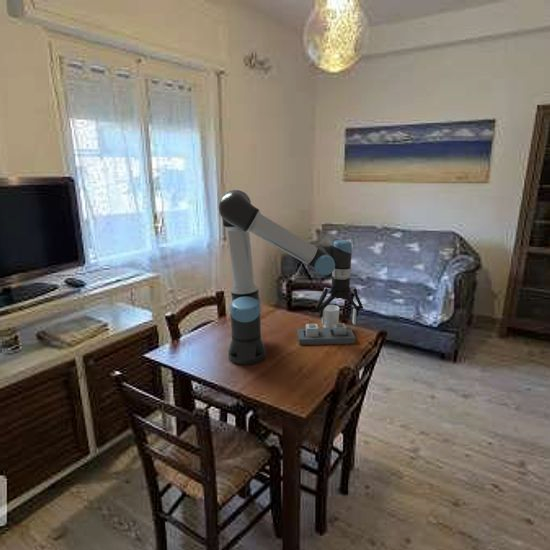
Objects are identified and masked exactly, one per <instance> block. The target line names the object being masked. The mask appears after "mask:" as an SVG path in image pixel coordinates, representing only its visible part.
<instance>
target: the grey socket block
mask: <svg viewBox="0 0 550 550" xmlns="http://www.w3.org/2000/svg"><path fill="white" fill-rule="evenodd" d="M346 328H347V332H346V336H333V328H323V327H319V325H318V323H306V324H305V328H296V332H297V333H296V335H297V339H298V345H300V346H301V345H302V346H304V345H334V344H335V345H337V344H341V345H342V344H356V337H355V334H354V332H353V331H352V328H351V327H350V326H349V327H348V326H346Z"/></svg>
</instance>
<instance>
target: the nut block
mask: <svg viewBox="0 0 550 550" xmlns="http://www.w3.org/2000/svg"><path fill="white" fill-rule="evenodd" d="M346 327H347V326H346V324H345V322H343V323H341V322H338V324H333V335H332V336H346V332H347V328H346Z"/></svg>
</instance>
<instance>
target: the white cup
mask: <svg viewBox="0 0 550 550" xmlns="http://www.w3.org/2000/svg"><path fill="white" fill-rule="evenodd" d="M324 310H325V319H324V325H322V328H333V324H338V323H339V319H340V307H339V306H338V305H334V304H328V305H327V306H326V307H325V308H324Z"/></svg>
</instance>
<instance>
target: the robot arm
mask: <svg viewBox="0 0 550 550" xmlns="http://www.w3.org/2000/svg"><path fill="white" fill-rule="evenodd" d="M218 211H219V214H220V215H219V216H221V218H222V226H223V228H224V229H225V230H226V231H227V236H228V247H229V255H230V263H231V271H232V272H231V273H232V280H233V281H232V282H233V287H232V288H231V289H230V295H231V303H230V308H229V312H230V324H231V325H230V327H231V329H230V331H231V341H230V344H229V347H228V351H227V352H228V354H227V356H228V360H230V361H231V362H232V363H233V364H237V365H241V366H242V365H243V366H246V365H247V366H248V365H255V364H257V363H258V364H259V363H260V362H262V361H263V360H264V359H265V358H266V356H267V351H266V347H265V344H264V342H263V339H262V326H261V325H262V324H261V322H262V321H261V311H262V307H261V298H260V292H259V286H258V285H257V284H256V283H255V278H254V277H255V275H254V267H253V266H254V265H253V259H252V258H253V256H252V247H251V238H250V236H251V235H250V233H252V234H254V235H255V236H258V237H259V238H260V239H262V240H264V241H266V242H267V243H270V245H273V246H275V247H277V248H278V249H280V250H281V251H283V252H285V253H286V254H289V255H290V256H291V257H293V258H295V259H296V260H299V261H300V262H302V263H304V264H306V265H307V266H309V267H310V268H312V269H313V270H315V272H316V273H318V274H319V275H320V276H329V275H330V274H331V276H332V277H331V287H330V288H328V287H326V286H325V287H323V292H322V294H321V295H320V297H319V299H318V301H317V302H316V304H315V309H316V310H319V317H320V318H321V325H322V326H323V325H324V319H325V310H324V308H325V307H326V306H327V305H330V303H331V302H332V301H333V300H335V299H341V300H342V299H345V298H346V300H348V301H349V303H350V304H351V306H352V307H353V308H352V309H353V310H352V324H353V326H355V325H356V323H357V322H356V321H357V318H358V317H359V313H360V312H359V311H360V310H363V309H364V305H363V304H362V300H361V299H360V297H359V294H358V289H357V288H356V286H353V287H351V288H350V285H351V284H350V283H351V279H350V277H351V269H352V268H351V267H352V265H351V264H352V254H353V245H352V242H351V241H350V240H347V239H337V240H334V241H333V244H332V245H314V244H312V243H310V242H308V241H307V240H305V239H303V238H302V237H300V236H299V235H297V234H295V233H294V232H292V231H290V230H288V229H286V228H285V227H283V226H282V225H280V224H278V223H277V222H275V221H273V220H272V219H270V218H269V217H267V216H265V215H263V214H262V213H261V211H260V209H259V208H257V207H256V206H254V205H253V204H252V203H251V199H250V197H249V195H248V194H247V193H246V192H244V191H242V190H239V189H233V190H229V191H227V192H226V193H225V194H223V196H222V198H221V199H220V201H219V205H218ZM350 292H351V293H352V294H353V296H354V298H355V300H356V302H357V303H355V301H354V300H353V299H352V298H351V296H350V295H349V293H350ZM329 293H331V294H330V295H329V296H328V297H327V295H328V294H329Z"/></svg>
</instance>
